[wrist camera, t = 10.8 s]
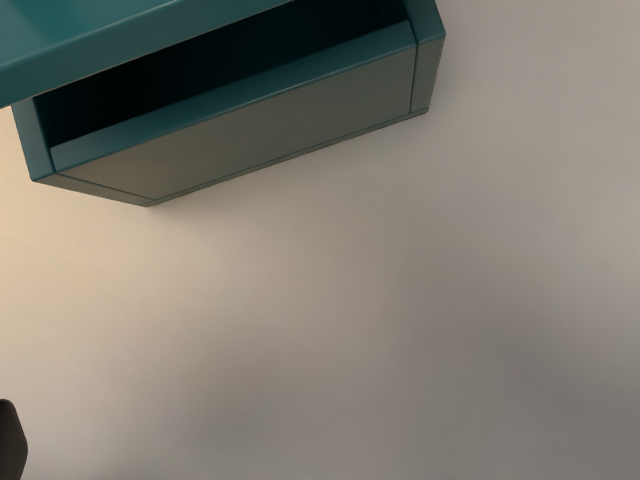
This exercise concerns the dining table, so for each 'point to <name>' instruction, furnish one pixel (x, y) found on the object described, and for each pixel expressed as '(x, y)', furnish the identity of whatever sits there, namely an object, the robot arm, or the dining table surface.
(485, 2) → the dining table surface
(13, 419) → the robot arm
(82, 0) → the lid
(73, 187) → the teal bin
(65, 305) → the dining table surface
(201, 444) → the dining table surface
